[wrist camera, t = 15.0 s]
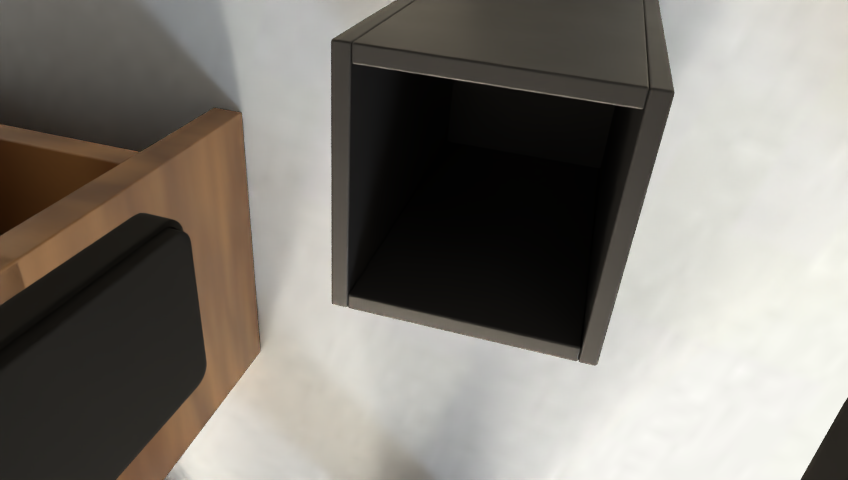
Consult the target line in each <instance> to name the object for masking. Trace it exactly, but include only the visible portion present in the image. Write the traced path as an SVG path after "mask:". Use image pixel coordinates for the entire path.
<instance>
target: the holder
mask: <svg viewBox="0 0 848 480" xmlns="http://www.w3.org/2000/svg"><path fill="white" fill-rule="evenodd" d="M673 97H674V88H673V82H672V76H671V70H670V65H669V59H668V53H667V47H666V41H665V36H664V30H663V24H662V18H661V13H660V7H659V1H658V0H396V1H394V2H392V3H391V4H389V5H387V6H386V7H384V8H382V9H381V10H379V11H378V12H376V13H374V14H373V15H371V16H369V17H368V18H366V19H364V20H363V21H361V22H360V23H358V24H356V25H355V26H353V27H351V28H350V29H348V30H346V31H345V32H343V33H341V34H340V35H338V36H337V37H335V38H333V39H332V41H331V154H332V304H335V305H339V306H343V307H349V308H352V309H356V310H360V311H365V312H369V313H373V314H377V315H382V316H386V317H390V318H394V319H399V320H403V321H407V322H411V323H416V324H420V325H424V326H428V327H433V328H437V329H441V330H445V331H450V332H454V333H458V334H463V335H467V336H471V337H475V338H480V339H484V340H488V341H492V342H497V343H501V344H505V345H509V346H514V347H518V348H522V349H526V350H531V351H535V352H539V353H543V354H548V355H552V356H556V357H560V358H565V359H569V360H573V361H577V360H579V362H582V363H586V364H590V365H597V364H598V360H599V357H600V353H601V350H602V346H603V343H604V339H605V336H606V332H607V329H608V325H609V322H610V318H611V315H612V311H613V308H614V304H615V300H616V297H617V293H618V290H619V286H620V283H621V279H622V276H623V272H624V269H625V265H626V262H627V258H628V255H629V251H630V248H631V244H632V241H633V237H634V234H635V230H636V227H637V223H638V220H639V216H640V213H641V209H642V206H643V202H644V199H645V195H646V192H647V188H648V185H649V181H650V178H651V174H652V171H653V167H654V163H655V160H656V156H657V153H658V149H659V146H660V142H661V139H662V135H663V132H664V128H665V125H666V121H667V118H668V114H669V111H670V107H671V104H672V100H673Z"/></svg>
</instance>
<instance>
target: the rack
mask: <svg viewBox="0 0 848 480" xmlns="http://www.w3.org/2000/svg"><path fill="white" fill-rule="evenodd" d="M138 213H148V214H152V215H156V216H161V217H165V218H169V219H173V220H176V221H178V222H179V223H180V224H181V226H182V228H183V231H184V232H186V233H187V234H188V235H189V237H190V240H191V245H192V253H193V261H194V268H195V276H196V284H197V291H198V299H199V307H200V314H201V322H202V330H203V337H204V345H205V353H206V360H207V367H206V372H205V375H204V378H203V380H202V381H201V383H200V384H199V386H198V387H197V388H196V389H195V390H194V392H193V393H192V394H191V395H190V396H189V397H188V398H187V400H186V401H185V402H184V403H183V404H182V405H181V406H180V408H179V409H178V410H177V411H176V412H175V413H174V414H173V416H172V417H171V418H170V419H169V420H168V421H167V422H166V423H165V425H164V426H163V427H162V428H161V429H160V430H159V431H158V433H157V434H156V435H155V436H154V437H153V438H152V439H151V441H150V442H149V443H148V444H147V445H146V446H145V447H144V449H143V450H142V451H141V452H140V453H139V454H138V455H137V457H136V458H135V459H134V460H133V461H132V462H131V463H130V464H129V466H128V467H127V468H126V469H125V470H124V471H123V472H122V474H121V475H120V476H119V477H118V478H117V479H116V480H164V479H165V477H166V476H167V475H168V473H169V472H170V471H171V469H172V468H173V467H174V465H175V464H176V463H177V461H178V460H179V459H180V458H181V456H182V455H183V454H184V452H185V451H186V450H187V448H188V447H189V446H190V444H191V443H192V442H193V440H194V439H195V438H196V436H197V435H198V434H199V432H200V431H201V430H202V428H203V427H204V426H205V424H206V423H207V422H208V420H209V419H210V418H211V416H212V415H213V414H214V412H215V411H216V410H217V408H218V407H219V406H220V404H221V403H222V402H223V400H224V399H225V398H226V396H227V395H228V394H229V392H230V391H231V390H232V388H233V387H234V386H235V385H236V383H237V382H238V381H239V379H240V378H241V377H242V375H243V374H244V373H245V371H246V370H247V369H248V367H249V366H250V365H251V363H252V362H253V361H254V359H255V358H256V357H257V355H258V354H259V353H260V339H259V326H258V313H257V301H256V288H255V275H254V263H253V250H252V237H251V225H250V212H249V200H248V187H247V174H246V162H245V149H244V136H243V124H242V113H241V112H236V111H230V110H225V109H219V108H213V109H211V110H209V111H208V112H206V113H204V114H203V115H201V116H199V117H198V118H196V119H194V120H193V121H191V122H189V123H188V124H186V125H184V126H183V127H181V128H179V129H178V130H176V131H174V132H173V133H171V134H169V135H168V136H166V137H164V138H163V139H161V140H159V141H158V142H156V143H154V144H153V145H151V146H149V147H148V148H146V149H144V150H143V151H141V152H138V151H133V150H128V149H123V148H118V147H113V146H108V145H103V144H98V143H93V142H88V141H83V140H78V139H73V138H68V137H63V136H58V135H53V134H48V133H42V132H37V131H32V130H27V129H22V128H17V127H12V126H7V125H2V124H0V305H1V304H3V303H4V302H6V301H7V300H9V299H10V298H12V297H13V296H15V295H16V294H18V293H19V292H21V291H22V290H24V289H25V288H27V287H28V286H30V285H31V284H33V283H34V282H36V281H37V280H39V279H40V278H42V277H43V276H44V275H46V274H47V273H49V272H50V271H52V270H53V269H55V268H56V267H58V266H59V265H61V264H62V263H64V262H65V261H67V260H68V259H70V258H71V257H73V256H74V255H76V254H77V253H79V252H80V251H82V250H83V249H85V248H86V247H88V246H89V245H91V244H92V243H94V242H95V241H97V240H98V239H100V238H101V237H103V236H104V235H106V234H107V233H109V232H110V231H112V230H113V229H114V228H116V227H117V226H119V225H120V224H122V223H123V222H125V221H126V220H128V219H129V218H131V217H132V216H134V215H136V214H138Z"/></svg>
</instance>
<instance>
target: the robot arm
mask: <svg viewBox="0 0 848 480" xmlns="http://www.w3.org/2000/svg"><path fill="white" fill-rule="evenodd" d="M206 367H207V360H206V353H205V345H204V337H203V330H202V322H201V314H200V307H199V299H198V291H197V284H196V276H195V268H194V261H193V253H192V245H191V240H190V237H189V235H188V234H187V233H186V232H184V231H183V228H182V226H181V224H180V223H179V222H178V221H176V220H173V219H169V218H165V217H161V216H156V215H152V214H148V213H138V214H136V215H134V216H132V217H131V218H129V219H128V220H126V221H125V222H123V223H122V224H120V225H119V226H117V227H116V228H114V229H113V230H112V231H110V232H109V233H107V234H106V235H104V236H103V237H101V238H100V239H98V240H97V241H95V242H94V243H92V244H91V245H89V246H88V247H86V248H85V249H83V250H82V251H80V252H79V253H77V254H76V255H74V256H73V257H71V258H70V259H68V260H67V261H65V262H64V263H62V264H61V265H59V266H58V267H56V268H55V269H53V270H52V271H50V272H49V273H47V274H46V275H44V276H43V277H42V278H40V279H39V280H37V281H36V282H34V283H33V284H31V285H30V286H28V287H27V288H25V289H24V290H22V291H21V292H19V293H18V294H16V295H15V296H13V297H12V298H10V299H9V300H7V301H6V302H4V303H3V304H1V305H0V480H116V479H117V478H118V477H119V476H120V475H121V474H122V472H123V471H124V470H125V469H126V468H127V467H128V466H129V464H130V463H131V462H132V461H133V460H134V459H135V458H136V457H137V455H138V454H139V453H140V452H141V451H142V450H143V449H144V447H145V446H146V445H147V444H148V443H149V442H150V441H151V439H152V438H153V437H154V436H155V435H156V434H157V433H158V431H159V430H160V429H161V428H162V427H163V426H164V425H165V423H166V422H167V421H168V420H169V419H170V418H171V417H172V416H173V414H174V413H175V412H176V411H177V410H178V409H179V408H180V406H181V405H182V404H183V403H184V402H185V401H186V400H187V398H188V397H189V396H190V395H191V394H192V393H193V392H194V390H195V389H196V388H197V387H198V386H199V384H200V383H201V381H202V380H203V378H204V375H205V372H206ZM801 480H848V398H847V400H846V401H845V402H844V404H843V406H842V408H841V409H840V411H839V413H838V415H837V417H836V418H835V420H834V422H833V424H832V425H831V427H830V429H829V431H828V432H827V434H826V436H825V438H824V439H823V441H822V443H821V445H820V447H819V448H818V450H817V452H816V454H815V455H814V457H813V459H812V461H811V462H810V464H809V466H808V468H807V469H806V471H805V473H804V475H803V476H802V478H801Z"/></svg>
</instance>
